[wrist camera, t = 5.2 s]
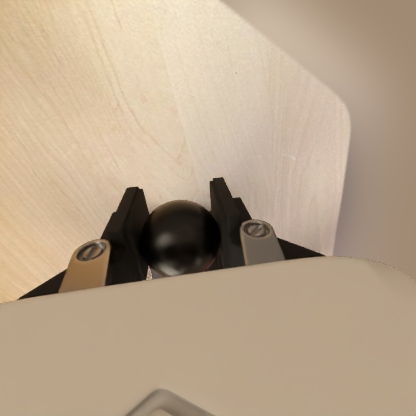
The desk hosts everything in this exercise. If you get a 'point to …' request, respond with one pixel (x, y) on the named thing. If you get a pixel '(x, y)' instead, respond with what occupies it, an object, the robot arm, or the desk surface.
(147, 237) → the lever
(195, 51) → the desk surface
